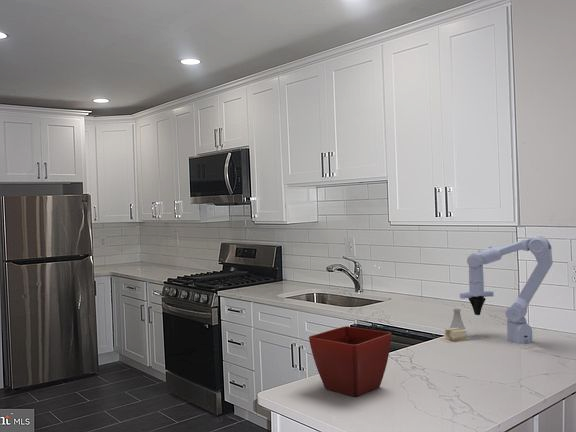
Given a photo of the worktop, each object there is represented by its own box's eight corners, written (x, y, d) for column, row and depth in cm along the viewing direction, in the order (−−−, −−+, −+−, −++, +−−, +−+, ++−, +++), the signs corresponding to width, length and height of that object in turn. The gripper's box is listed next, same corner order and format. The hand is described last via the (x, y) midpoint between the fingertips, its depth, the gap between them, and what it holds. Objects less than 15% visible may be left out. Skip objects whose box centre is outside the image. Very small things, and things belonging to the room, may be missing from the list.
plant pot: (308, 389, 169) (307, 335, 169) (347, 375, 182) (345, 325, 182) (357, 403, 155) (355, 345, 155) (395, 386, 169) (393, 333, 169)
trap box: (489, 342, 219) (489, 338, 219) (447, 346, 215) (447, 342, 215) (479, 338, 226) (479, 334, 226) (439, 342, 222) (439, 338, 222)
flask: (455, 334, 235) (454, 311, 235) (446, 330, 242) (445, 308, 242) (469, 332, 237) (468, 310, 237) (460, 329, 244) (459, 307, 244)
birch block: (466, 340, 217) (466, 330, 217) (453, 341, 216) (452, 331, 216) (458, 337, 223) (458, 327, 223) (445, 338, 222) (445, 328, 222)
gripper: (486, 279, 229) (487, 311, 230) (455, 282, 226) (456, 314, 226) (496, 281, 223) (497, 314, 223) (464, 284, 219) (465, 317, 219)
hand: (477, 314), depth 224 cm, fingers closed
